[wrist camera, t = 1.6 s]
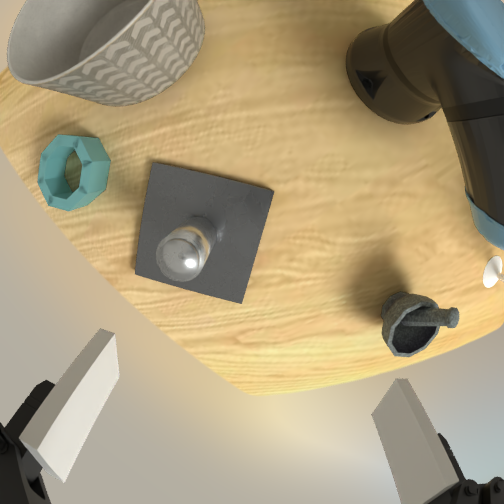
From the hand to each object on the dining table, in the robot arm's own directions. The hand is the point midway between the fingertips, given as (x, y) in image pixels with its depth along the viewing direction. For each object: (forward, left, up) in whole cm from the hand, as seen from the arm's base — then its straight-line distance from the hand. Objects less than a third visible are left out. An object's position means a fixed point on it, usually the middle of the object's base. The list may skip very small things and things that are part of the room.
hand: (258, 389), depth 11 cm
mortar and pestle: (+5, +25, -27) cm, 37 cm away
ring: (-3, -28, -27) cm, 38 cm away
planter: (-22, -23, -27) cm, 41 cm away
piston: (+2, -8, -27) cm, 28 cm away
